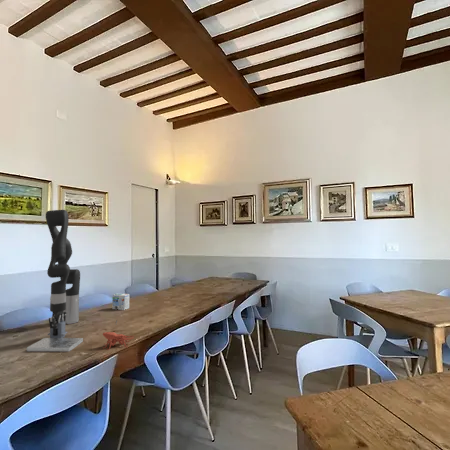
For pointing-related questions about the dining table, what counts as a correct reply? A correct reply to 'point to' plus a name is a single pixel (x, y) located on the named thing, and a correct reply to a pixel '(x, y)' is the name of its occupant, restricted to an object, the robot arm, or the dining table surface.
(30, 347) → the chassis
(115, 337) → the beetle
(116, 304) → the light bulb box
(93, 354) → the dining table surface
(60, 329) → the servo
